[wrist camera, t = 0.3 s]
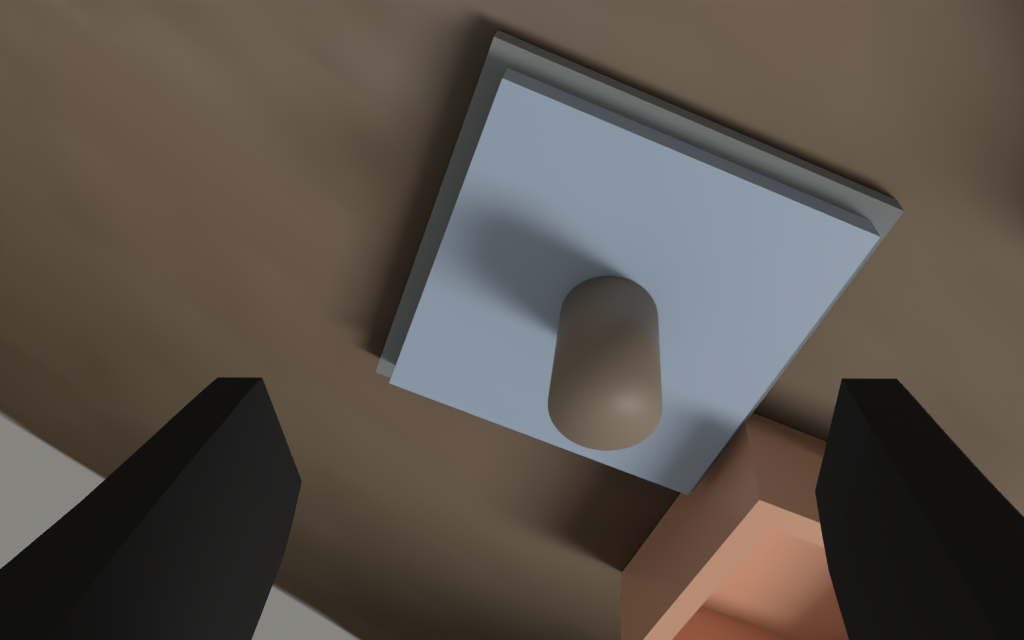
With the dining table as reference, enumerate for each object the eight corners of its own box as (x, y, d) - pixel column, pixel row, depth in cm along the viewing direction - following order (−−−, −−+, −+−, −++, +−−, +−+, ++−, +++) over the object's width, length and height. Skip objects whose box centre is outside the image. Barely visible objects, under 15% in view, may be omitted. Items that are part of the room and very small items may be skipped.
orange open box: (831, 649, 27) (855, 749, 24) (621, 573, 27) (620, 667, 24) (989, 505, 23) (1041, 607, 20) (742, 408, 22) (759, 500, 19)
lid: (685, 475, 23) (695, 598, 19) (396, 366, 22) (351, 473, 19) (871, 221, 18) (930, 323, 14) (507, 67, 17) (474, 136, 14)
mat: (692, 477, 24) (693, 492, 23) (380, 359, 23) (375, 372, 22) (896, 200, 18) (904, 211, 18) (497, 30, 17) (493, 36, 17)
